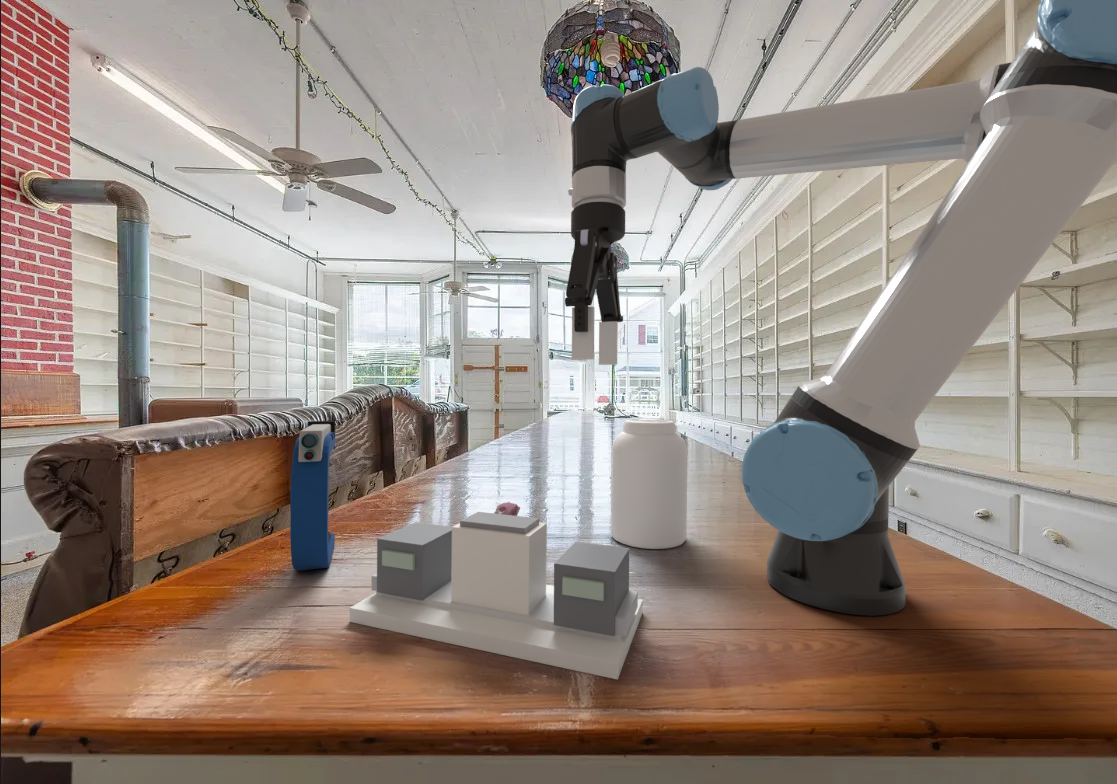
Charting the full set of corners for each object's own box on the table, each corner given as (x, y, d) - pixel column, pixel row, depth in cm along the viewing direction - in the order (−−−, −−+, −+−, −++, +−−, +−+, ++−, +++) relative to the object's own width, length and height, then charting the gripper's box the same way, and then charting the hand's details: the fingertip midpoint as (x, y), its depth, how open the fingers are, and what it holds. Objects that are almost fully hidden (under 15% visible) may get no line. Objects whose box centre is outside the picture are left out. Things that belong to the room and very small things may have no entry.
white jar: (608, 526, 86) (609, 416, 86) (677, 528, 86) (679, 417, 86) (613, 550, 74) (614, 421, 74) (694, 552, 73) (696, 422, 73)
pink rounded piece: (492, 557, 75) (512, 518, 74) (468, 542, 76) (487, 504, 75) (510, 537, 84) (528, 503, 84) (488, 524, 85) (505, 490, 85)
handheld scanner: (338, 542, 76) (336, 419, 76) (329, 580, 61) (327, 428, 61) (306, 545, 75) (304, 421, 74) (289, 586, 60) (286, 430, 59)
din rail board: (642, 612, 53) (643, 540, 53) (617, 679, 41) (618, 586, 41) (422, 576, 63) (423, 515, 63) (349, 621, 51) (350, 545, 51)
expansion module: (474, 583, 56) (474, 510, 56) (546, 595, 53) (546, 517, 53) (451, 601, 51) (451, 521, 51) (528, 615, 48) (529, 530, 48)
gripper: (595, 238, 79) (593, 366, 79) (540, 174, 56) (538, 356, 56) (640, 234, 77) (638, 366, 77) (602, 165, 53) (600, 355, 53)
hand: (596, 362), depth 66 cm, fingers open, 13 cm apart
